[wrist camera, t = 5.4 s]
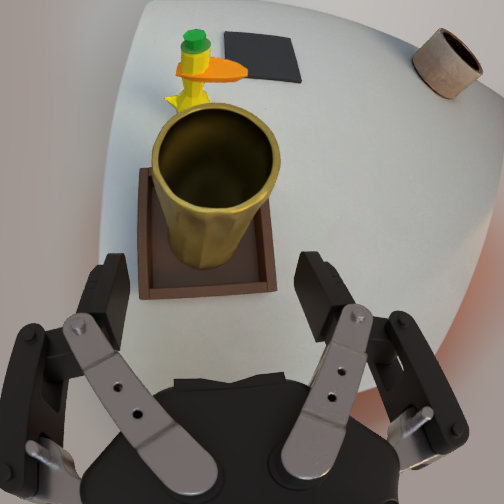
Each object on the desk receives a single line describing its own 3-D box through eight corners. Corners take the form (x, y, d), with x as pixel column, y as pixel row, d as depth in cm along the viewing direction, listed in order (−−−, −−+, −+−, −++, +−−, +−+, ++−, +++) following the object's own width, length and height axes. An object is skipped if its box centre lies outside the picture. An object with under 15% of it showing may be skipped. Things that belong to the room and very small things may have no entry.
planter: (424, 90, 36) (457, 60, 27) (402, 48, 38) (429, 18, 28) (460, 107, 38) (491, 83, 29) (439, 66, 40) (465, 42, 31)
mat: (226, 77, 28) (226, 74, 28) (224, 33, 30) (224, 31, 29) (300, 83, 30) (302, 81, 30) (289, 40, 32) (290, 38, 31)
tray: (145, 299, 23) (139, 299, 20) (144, 181, 25) (139, 167, 22) (268, 292, 25) (277, 290, 22) (257, 178, 27) (265, 164, 24)
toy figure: (233, 115, 28) (257, 27, 16) (231, 143, 27) (256, 55, 15) (168, 111, 26) (164, 20, 15) (163, 139, 26) (153, 48, 14)
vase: (168, 270, 24) (132, 228, 10) (169, 200, 24) (149, 94, 11) (240, 269, 25) (298, 228, 11) (237, 200, 26) (284, 99, 12)
